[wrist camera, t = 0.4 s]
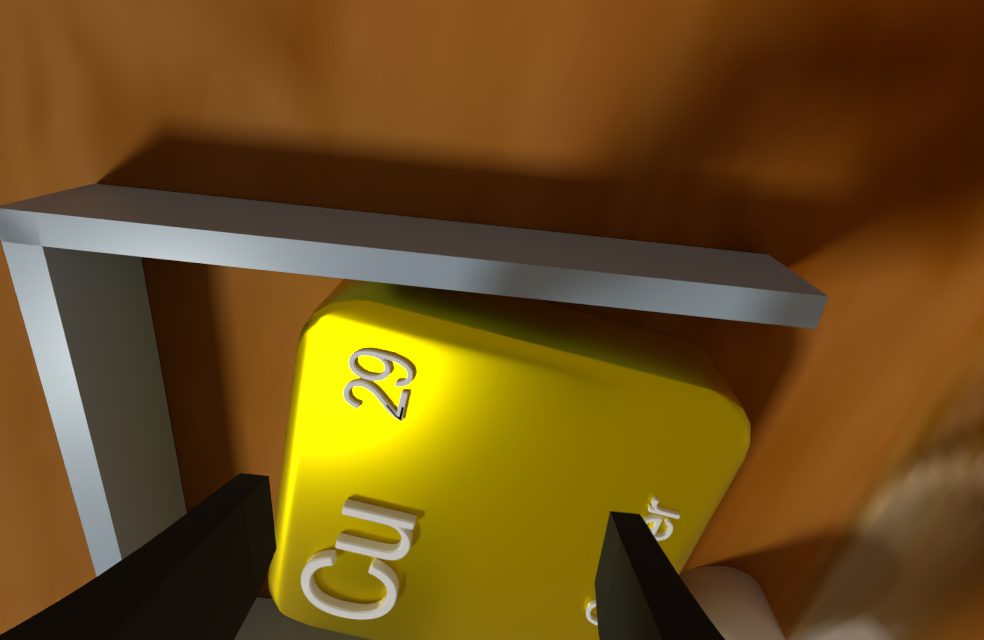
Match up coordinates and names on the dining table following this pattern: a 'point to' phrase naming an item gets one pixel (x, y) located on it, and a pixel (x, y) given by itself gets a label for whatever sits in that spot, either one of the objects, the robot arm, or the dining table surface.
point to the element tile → (485, 461)
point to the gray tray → (303, 250)
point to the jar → (733, 603)
